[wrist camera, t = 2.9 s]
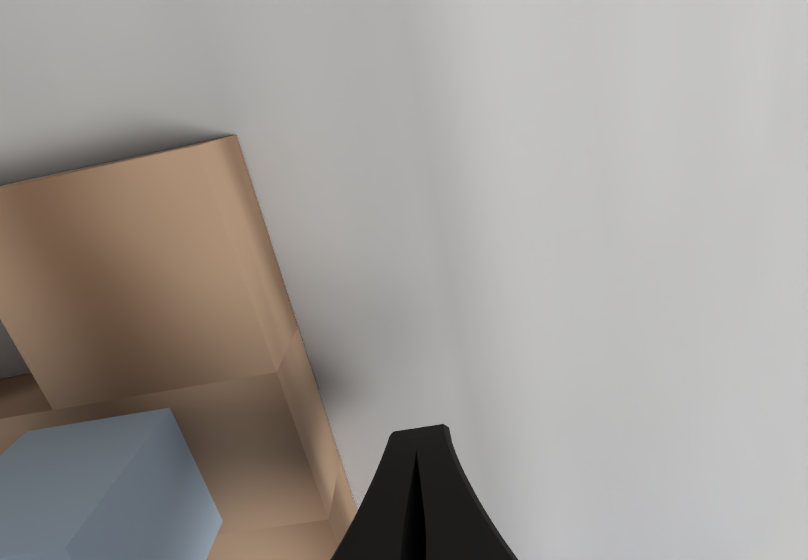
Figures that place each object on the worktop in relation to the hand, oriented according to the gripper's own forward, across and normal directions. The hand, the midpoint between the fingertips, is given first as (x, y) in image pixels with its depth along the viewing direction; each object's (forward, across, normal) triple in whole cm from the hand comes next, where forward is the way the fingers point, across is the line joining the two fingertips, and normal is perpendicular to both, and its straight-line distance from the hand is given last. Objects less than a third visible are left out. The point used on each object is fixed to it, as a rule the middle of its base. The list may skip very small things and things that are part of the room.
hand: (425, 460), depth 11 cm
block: (+1, +8, 0) cm, 8 cm away
